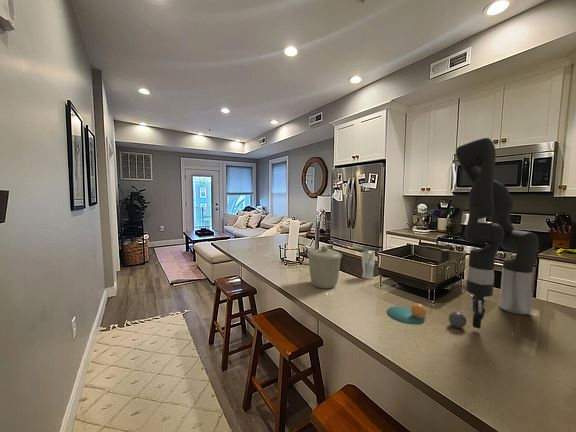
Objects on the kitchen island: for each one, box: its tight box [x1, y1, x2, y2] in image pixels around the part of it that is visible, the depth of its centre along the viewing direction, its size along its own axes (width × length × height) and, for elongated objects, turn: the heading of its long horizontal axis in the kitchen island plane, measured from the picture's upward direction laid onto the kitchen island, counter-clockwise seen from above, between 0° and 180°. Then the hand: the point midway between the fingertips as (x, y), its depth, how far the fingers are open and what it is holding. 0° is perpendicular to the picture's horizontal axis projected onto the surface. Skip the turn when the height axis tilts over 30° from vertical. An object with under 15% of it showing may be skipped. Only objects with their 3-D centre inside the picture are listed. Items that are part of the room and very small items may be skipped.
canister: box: [306, 245, 343, 289], centre depth 134 cm, size 18×18×21 cm
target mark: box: [386, 305, 426, 325], centre depth 103 cm, size 14×14×1 cm
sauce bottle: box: [437, 248, 452, 291], centre depth 129 cm, size 6×6×20 cm
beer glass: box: [361, 250, 376, 280], centre depth 145 cm, size 7×7×15 cm
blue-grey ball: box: [448, 311, 467, 329], centre depth 93 cm, size 6×6×6 cm
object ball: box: [410, 303, 427, 318], centre depth 100 cm, size 6×6×6 cm
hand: (476, 326), depth 91 cm, fingers closed
